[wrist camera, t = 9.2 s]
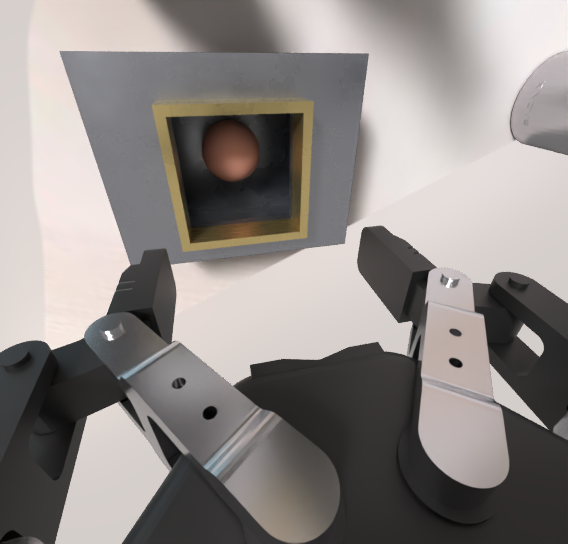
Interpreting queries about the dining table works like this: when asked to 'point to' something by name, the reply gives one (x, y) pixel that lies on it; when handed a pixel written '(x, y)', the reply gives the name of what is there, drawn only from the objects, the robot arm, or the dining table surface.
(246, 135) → the ball
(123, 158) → the grey box with opening
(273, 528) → the robot arm
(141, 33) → the dining table surface
